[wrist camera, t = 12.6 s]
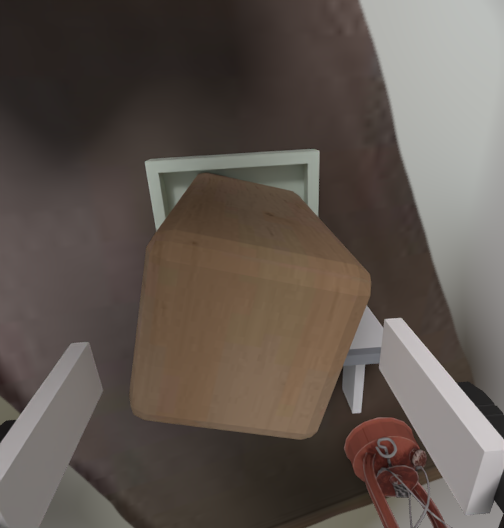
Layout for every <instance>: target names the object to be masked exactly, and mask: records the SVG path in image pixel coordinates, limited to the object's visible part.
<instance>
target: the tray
mask: <svg viewBox="0 0 504 528" xmlns="http://www.w3.org/2000/svg"><path fill="white" fill-rule="evenodd" d="M145 167H146V173H147V179H148V185H149V191H150V197H151V202H152V208H153V214H154V220H155V226H156V231H157V230H158V228H159V227H160V226H161V224H162V223H163V222H164V220H165V219H166V217H167V216H168V215H169V213H170V212H171V211H172V209H173V208H174V206H175V205H176V204H177V202H178V201H179V200H180V198H181V197H182V195H183V194H184V193H185V191H186V190H187V188H188V187H189V186H190V184H191V183H192V182H193V180H194V179H195V177H196V176H197V175H198V174H199V173H205V172H208V173H213V174H217V175H222V176H226V177H231V178H235V179H240V180H244V181H249V182H253V183H258V184H263V185H267V186H272V187H276V188H281V189H285V190H290V191H293V192H294V193H296V194H297V195H299V196H300V197H301V199H302V200H303V201H304V202H305V203H306V204H307V205H308V206H309V207H310V209H311V210H312V211H313V212H314V213H315V214H316V215H317V216H318V205H319V150H316V149H302V150H285V151H269V152H253V153H237V154H221V155H204V156H188V157H172V158H156V159H150V160H147V161H145Z"/></svg>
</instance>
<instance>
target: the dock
mask: <svg viewBox="0 0 504 528" xmlns="http://www.w3.org/2000/svg"><path fill="white" fill-rule="evenodd" d="M382 337H383V327H382V325H381V324H380V323H379V321H378V320H377V319H376V317H375V316H374V315H373V313H372V312H371V310H370V309H369V308H368V306H367V305H366V308H365V311H364V313H363V316H362V318H361V321H360V323H359V326H358V328H357V331H356V334H355V336H354V339H353V341H352V344H351V346H350V349H349V352H348V354H347V357H346V359H345V362H344V364H343V383H342V389H343V392H344V394H345V397H346V399H347V402H348V404H349V406H350V409H351V411H352V413H361V407H362V396H363V384H364V373H365V364H377V363H380V354H381V345H382Z"/></svg>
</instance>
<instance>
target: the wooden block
mask: <svg viewBox="0 0 504 528" xmlns="http://www.w3.org/2000/svg"><path fill="white" fill-rule="evenodd" d="M370 293H371V278H370V274H369V273H368V272H367V270H366V269H365V268H364V267H363V266H362V265H361V264H360V263H359V262H358V261H357V259H356V258H355V257H354V256H353V255H352V254H351V253H350V252H349V251H348V249H347V248H346V247H345V246H344V245H343V244H342V243H341V242H340V241H339V240H338V238H337V237H336V236H335V235H334V234H333V233H332V232H331V231H330V230H329V228H328V227H327V226H326V225H325V224H324V223H323V222H322V221H321V220H320V218H319V217H318V216H317V215H316V214H315V213H314V212H313V211H312V210H311V209H310V207H309V206H308V205H307V204H306V203H305V202H304V201H303V200H302V199H301V197H300V196H299V195H297V194H296V193H294V192H293V191H290V190H285V189H281V188H276V187H272V186H267V185H263V184H258V183H253V182H249V181H244V180H240V179H235V178H231V177H226V176H222V175H217V174H213V173H208V172H205V173H199V174H198V175H197V176H196V177H195V179H194V180H193V182H192V183H191V184H190V186H189V187H188V188H187V190H186V191H185V193H184V194H183V195H182V197H181V198H180V200H179V201H178V202H177V204H176V205H175V206H174V208H173V209H172V211H171V212H170V213H169V215H168V216H167V217H166V219H165V220H164V222H163V223H162V224H161V226H160V227H159V228H158V230H157V231H156V233H155V234H154V236H153V237H152V239H151V241H150V242H149V244H148V245H147V247H146V255H145V263H144V272H143V280H142V289H141V298H140V306H139V315H138V323H137V332H136V341H135V349H134V358H133V366H132V375H131V384H130V392H129V398H130V404H131V408H132V411H133V414H134V415H135V416H137V417H139V418H141V419H143V420H148V421H156V422H164V423H172V424H180V425H188V426H196V427H204V428H212V429H220V430H228V431H236V432H244V433H252V434H260V435H268V436H276V437H284V438H291V439H299V440H301V439H305V438H309V437H312V436H313V435H314V434H315V433H316V432H317V431H318V428H319V426H320V423H321V421H322V418H323V415H324V413H325V410H326V408H327V405H328V403H329V400H330V398H331V395H332V392H333V390H334V387H335V385H336V382H337V380H338V377H339V375H340V372H341V369H342V367H343V364H344V362H345V359H346V357H347V354H348V352H349V349H350V346H351V344H352V341H353V339H354V336H355V334H356V331H357V328H358V326H359V323H360V321H361V318H362V316H363V313H364V311H365V308H366V305H367V303H368V300H369V298H370Z"/></svg>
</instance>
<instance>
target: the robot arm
mask: <svg viewBox="0 0 504 528" xmlns="http://www.w3.org/2000/svg"><path fill="white" fill-rule="evenodd" d="M379 369H380V371H381V373H382V374H383V376H384V378H385V379H386V381H387V383H388V385H389V386H390V388H391V390H392V391H393V393H394V395H395V397H396V398H397V400H398V402H399V403H400V405H401V407H402V408H403V410H404V412H405V414H406V415H407V417H408V419H409V420H410V422H411V424H412V426H413V427H414V429H415V431H416V432H417V434H418V436H419V438H420V439H421V441H422V443H423V444H424V446H425V448H426V449H427V451H428V453H429V455H430V456H431V458H432V460H433V461H434V463H435V465H436V467H437V468H438V470H439V472H440V473H441V475H442V477H443V478H444V480H445V482H446V484H447V485H448V487H449V488H450V490H451V492H452V494H453V496H454V497H455V499H456V501H457V502H458V504H459V506H460V508H461V509H462V511H463V513H464V514H465V515H474V514H485V513H490V511H491V508H492V505H493V503H494V500H495V502H496V503H497V505H498V506H499V507H500V509H501V510H502V512H503V513H504V415H503V413H502V411H501V410H500V409H499V408H498V407H497V406H495V405H494V403H493V402H492V400H491V399H490V398H489V397H488V396H487V395H486V394H485V393H484V392H483V391H482V390H480V389H479V388H477V387H476V386H474V385H473V384H471V383H470V382H458V383H456V382H455V381H454V380H453V379H452V377H451V376H450V375H449V374H448V373H447V371H446V370H445V369H444V368H443V367H442V365H441V364H440V363H439V362H438V361H437V360H436V358H435V357H434V356H433V355H432V354H431V352H430V351H429V350H428V349H427V348H426V346H425V345H424V344H423V343H422V342H421V341H420V339H419V338H418V337H417V336H416V335H415V333H414V332H413V331H412V330H411V329H410V328H409V326H408V325H407V324H406V323H405V322H404V320H403V319H402V318H393V319H385V320H384V328H383V337H382V345H381V354H380V363H379ZM102 392H103V388H102V385H101V381H100V378H99V375H98V371H97V368H96V364H95V361H94V358H93V354H92V351H91V347H90V344H89V342H81V343H71V344H70V346H69V347H68V348H67V350H66V351H65V353H64V354H63V355H62V357H61V358H60V360H59V361H58V363H57V364H56V365H55V367H54V368H53V370H52V371H51V372H50V374H49V375H48V377H47V378H46V379H45V381H44V382H43V384H42V385H41V386H40V388H39V389H38V391H37V392H36V394H35V395H34V396H33V398H32V399H31V401H30V402H29V403H28V405H27V406H26V408H25V409H24V410H23V412H22V413H21V415H20V416H19V418H18V419H17V420H9V421H5V422H4V423H3V424H2V425H0V528H39V526H40V523H41V521H42V519H43V517H44V515H45V513H46V511H47V509H48V507H49V504H50V502H51V500H52V498H53V496H54V494H55V492H56V489H57V487H58V485H59V483H60V481H61V479H62V476H63V475H64V473H65V470H66V468H67V466H68V464H69V462H70V460H71V458H72V456H73V453H74V451H75V449H76V447H77V445H78V443H79V441H80V439H81V436H82V434H83V432H84V430H85V428H86V426H87V424H88V422H89V419H90V417H91V415H92V413H93V411H94V409H95V407H96V404H97V402H98V400H99V398H100V396H101V394H102ZM498 528H504V514H503V517H502V520H501V522H500V525H499V527H498Z"/></svg>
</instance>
